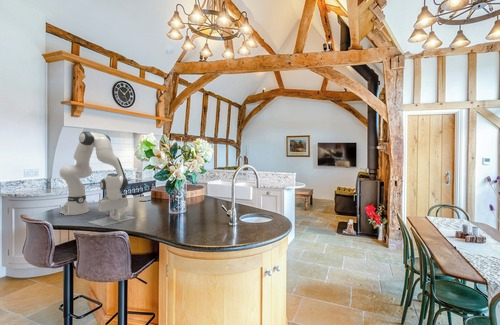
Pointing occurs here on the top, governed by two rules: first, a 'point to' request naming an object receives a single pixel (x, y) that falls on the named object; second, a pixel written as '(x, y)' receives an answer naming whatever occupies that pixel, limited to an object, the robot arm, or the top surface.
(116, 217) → the panel
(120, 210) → the fixed fence
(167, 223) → the top surface
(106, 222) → the mat
